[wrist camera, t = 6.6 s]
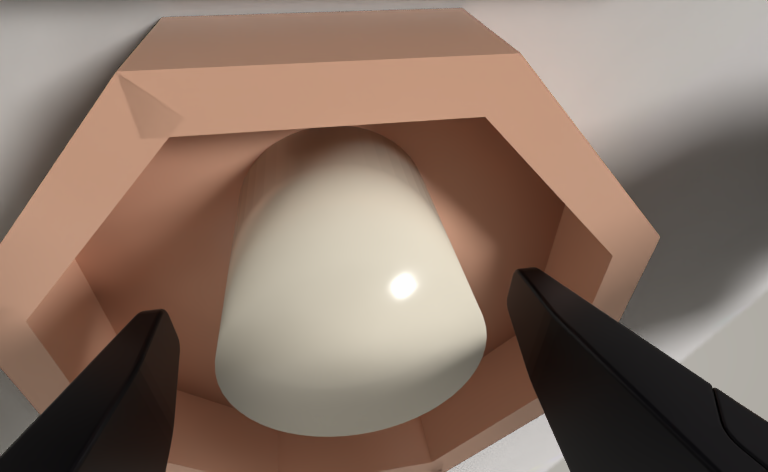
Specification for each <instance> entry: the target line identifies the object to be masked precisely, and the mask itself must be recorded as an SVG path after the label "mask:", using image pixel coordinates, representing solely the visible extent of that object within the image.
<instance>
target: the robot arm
mask: <svg viewBox="0 0 768 472" xmlns="http://www.w3.org/2000/svg"><path fill="white" fill-rule="evenodd" d="M507 309H508V312H509V315H510V319H511V322H512V325H513V328H514V331H515V335H516V338H517V341H518V344H519V347H520V351H521V354H522V357H523V360H524V363H525V366H526V369H527V372H528V375H529V378H530V381H531V383H532V386H533V388H534V391H535V393H536V395H537V397H538V400H539V402H540V404H541V406H542V409H543V411H544V413H545V415H546V418H547V420H548V422H549V425H550V427H551V429H552V431H553V434H554V436H555V438H556V440H557V443H558V445H559V447H560V449H561V452H562V454H563V456H564V458H565V461H566V463H567V465H568V467H569V470H570V472H768V422H767V421H766V420H764V419H763V418H761V417H760V416H758V415H756V414H755V413H753V412H752V411H750V410H749V409H747V408H746V407H744V406H743V405H741V404H740V403H738V402H736V401H735V400H734V399H732V398H731V397H729V396H728V395H726V394H725V393H723V392H722V391H720V390H719V389H717V388H712V386H711V384H710V383H708V382H706V381H705V380H704V379H702V378H701V377H699V376H698V375H696V374H695V373H693V372H691V371H690V370H689V369H687V368H686V367H684V366H683V365H681V364H680V363H678V362H677V361H675V360H674V359H672V358H671V357H669V356H668V355H666V354H665V353H664V352H662V351H661V350H659V349H658V348H656V347H655V346H653V345H652V344H650V343H649V342H647V341H646V340H644V339H643V338H641V337H640V336H638V335H637V334H635V333H634V332H632V331H631V330H629V329H628V328H626V327H625V326H623V325H622V324H620V323H619V322H617V321H616V320H614V319H613V318H612V317H610V316H609V315H607V314H606V313H604V312H603V311H601V310H600V309H598V308H597V307H595V306H594V305H592V304H591V303H589V302H588V301H586V300H585V299H583V298H582V297H580V296H579V295H577V294H576V293H574V292H573V291H571V290H570V289H568V288H567V287H565V286H564V285H563V284H561V283H560V282H558V281H557V280H555V279H554V278H552V277H551V276H549V275H548V274H546V273H545V272H543V271H542V270H540V269H538V268H536V267H529V268H520V269H517V270H515V271H514V273H513V276H512V280H511V284H510V288H509V292H508V296H507ZM179 358H180V342H179V338H178V335H177V333H176V331H175V328H174V326H173V324H172V321H171V319H170V316H169V314H168V313H167V311H166V310H164V309H154V310H145V311H141V312H139V313H137V314H136V315H135V316H134V317H133V318H132V319H131V320H130V322H129V323H128V324H127V325H126V326H125V327H124V328H123V329H122V330H121V331H120V332H119V333H118V334H117V335H116V336H115V337H114V338H113V339H112V340H111V341H110V342H109V343H108V345H107V346H106V347H105V348H104V349H103V350H102V351H101V352H100V353H99V354H98V355H97V356H96V357H95V358H94V359H93V360H92V361H91V362H90V363H89V364H88V365H87V367H86V368H85V369H84V370H83V371H82V372H81V373H80V374H79V375H78V376H77V377H76V378H75V379H74V380H73V381H72V382H71V383H70V384H69V385H68V386H67V387H66V389H65V390H64V391H63V392H62V393H61V394H60V395H59V396H58V397H57V398H56V399H55V400H54V401H53V402H52V403H51V404H50V405H49V406H48V407H47V408H46V409H45V410H44V412H43V413H42V414H41V415H40V416H39V417H38V418H37V419H36V420H35V421H34V422H33V423H32V424H31V425H30V426H29V427H28V428H27V429H26V430H25V431H24V432H23V434H22V435H21V436H20V437H19V438H18V439H17V440H16V441H15V442H14V443H13V444H12V445H11V446H10V447H9V448H8V449H7V450H6V451H5V452H4V453H3V454H2V456H1V457H0V472H166V467H167V462H168V457H169V452H170V447H171V442H172V436H173V429H174V420H175V408H176V395H177V383H178V370H179Z"/></svg>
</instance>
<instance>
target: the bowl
mask: <svg viewBox="0 0 768 472" xmlns="http://www.w3.org/2000/svg"><path fill="white" fill-rule="evenodd" d="M335 126H354V127H359V128H363V129H367V130H370V131H373V132H376V133H378V134H381V135H383V136H384V137H386V138H388V139H390V140H392V141H393V142H394V143H396V144H397V145H398V146H400V147H401V148H402V149H403V150H404V151H405V152H406V153H407V154H408V155H409V156H410V158H411V159H412V160H413V162H414V163H415V164H416V166H417V168H418V170H419V172H420V174H421V176H422V179H423V181H424V183H425V185H426V188H427V190H428V192H429V195H430V197H431V199H432V201H433V204H434V206H435V208H436V210H437V213H438V215H439V217H440V220H441V222H442V224H443V226H444V229H445V231H446V233H447V235H448V238H449V240H450V242H451V245H452V247H453V249H454V251H455V254H456V256H457V258H458V260H459V263H460V265H461V267H462V270H463V272H464V274H465V276H466V279H467V281H468V283H469V285H470V288H471V290H472V292H473V295H474V297H475V299H476V301H477V304H478V306H479V308H480V310H481V313H482V315H483V318H484V321H485V325H486V334H487V339H486V347H485V351H484V354H483V357H482V359H481V361H480V363H479V365H478V367H477V369H476V370H475V372H474V373H473V375H472V376H471V377H470V379H469V380H468V381H467V382H466V383H465V384H464V385H463V387H462V388H461V389H459V390H458V391H457V392H456V393H455V394H454V395H453V396H451V397H450V398H449V399H447V400H446V401H445V402H443V403H442V404H440V405H439V406H437V407H435V408H434V409H432V410H430V411H429V412H427V413H425V414H423V415H421V416H419V417H417V418H414V419H412V420H410V421H407V422H405V423H402V424H399V425H396V426H393V427H390V428H386V429H382V430H379V431H375V432H369V433H364V434H358V435H350V436H336V437H317V436H305V435H298V434H292V433H287V432H283V431H279V430H275V429H272V428H270V427H267V426H264V425H262V424H259V423H257V422H255V421H253V420H252V419H250V418H248V417H247V416H245V415H244V414H242V413H241V412H239V411H238V410H237V409H236V408H235V407H234V406H233V405H232V404H230V402H229V401H228V400H227V399H226V397H225V396H224V395H223V393H222V391H221V389H220V387H219V385H218V382H217V378H216V374H215V357H216V350H217V343H218V336H219V330H220V323H221V316H222V309H223V303H224V296H225V289H226V282H227V276H228V269H229V262H230V255H231V249H232V242H233V235H234V229H235V222H236V215H237V208H238V202H239V196H240V190H241V187H242V184H243V181H244V178H245V176H246V175H247V173H248V171H249V169H250V167H251V166H252V165H253V164H254V162H255V161H256V160H257V158H258V157H259V156H260V155H261V154H262V153H264V152H265V151H266V150H267V149H268V148H269V147H271V146H272V145H273V144H275V143H276V142H278V141H279V140H281V139H283V138H285V137H287V136H289V135H291V134H294V133H296V132H299V131H301V130H305V129H309V128H319V127H335ZM659 239H660V236H659V235H658V233H657V232H656V231H655V229H654V228H653V227H652V225H651V224H650V223H649V221H648V220H647V219H646V217H645V216H644V215H643V213H642V212H641V211H640V210H639V208H638V207H637V206H636V204H635V203H634V202H633V200H632V199H631V198H630V196H629V195H628V194H627V192H626V191H625V190H624V188H623V187H622V186H621V185H620V183H619V182H618V181H617V179H616V178H615V177H614V175H613V174H612V173H611V171H610V170H609V169H608V167H607V166H606V165H605V163H604V162H603V161H602V160H601V158H600V157H599V156H598V154H597V153H596V152H595V150H594V149H593V148H592V146H591V145H590V144H589V142H588V141H587V140H586V139H585V137H584V136H583V135H582V133H581V132H580V131H579V129H578V128H577V127H576V125H575V124H574V123H573V121H572V120H571V119H570V117H569V116H568V115H567V114H566V112H565V111H564V110H563V108H562V107H561V106H560V104H559V103H558V102H557V100H556V99H555V98H554V96H553V95H552V94H551V92H550V91H549V90H548V89H547V87H546V86H545V85H544V83H543V82H542V81H541V79H540V78H539V77H538V75H537V74H536V73H535V71H534V70H533V69H532V68H531V66H530V65H529V64H528V62H527V61H526V60H525V58H524V57H523V56H522V54H521V53H520V52H518V51H517V50H516V49H515V48H513V47H512V46H511V45H509V44H508V43H507V42H506V41H504V40H503V39H502V38H500V37H499V36H498V35H496V34H495V33H494V32H493V31H491V30H490V29H489V28H487V27H486V26H485V25H484V24H482V23H481V22H480V21H478V20H477V19H476V18H475V17H473V16H472V15H471V14H469V13H468V12H467V11H465V10H464V9H463V8H445V9H412V10H380V11H347V12H314V13H282V14H249V15H216V16H183V17H162V18H161V19H160V20H159V21H158V23H157V24H156V25H155V26H154V27H153V29H152V30H151V31H150V32H149V33H148V34H147V36H146V37H145V38H144V39H143V40H142V42H141V43H140V44H139V45H138V46H137V47H136V49H135V50H134V51H133V52H132V53H131V55H130V56H129V57H128V58H127V59H126V60H125V62H124V63H123V64H122V65H121V66H120V68H119V69H118V70H117V71H116V73H115V74H114V75H113V77H112V78H111V80H110V81H109V83H108V84H107V86H106V87H105V89H104V90H103V92H102V93H101V95H100V96H99V98H98V99H97V101H96V102H95V104H94V105H93V107H92V108H91V110H90V111H89V113H88V114H87V116H86V117H85V119H84V120H83V122H82V123H81V125H80V126H79V128H78V129H77V130H76V132H75V133H74V135H73V136H72V138H71V139H70V141H69V142H68V144H67V145H66V147H65V148H64V150H63V151H62V153H61V154H60V156H59V157H58V159H57V160H56V162H55V163H54V165H53V166H52V168H51V169H50V171H49V172H48V174H47V175H46V177H45V178H44V180H43V181H42V183H41V184H40V185H39V187H38V188H37V190H36V191H35V193H34V194H33V196H32V197H31V199H30V200H29V202H28V203H27V205H26V206H25V208H24V209H23V211H22V212H21V214H20V215H19V217H18V218H17V220H16V221H15V223H14V224H13V226H12V227H11V229H10V230H9V232H8V233H7V235H6V236H5V238H4V239H3V241H2V242H1V243H0V368H1V369H2V370H3V371H4V372H5V374H6V375H7V376H8V377H9V378H10V380H11V381H12V382H13V383H14V384H15V385H16V387H17V388H18V389H19V390H20V391H21V392H22V394H23V395H24V396H25V397H26V398H27V400H28V401H29V402H30V403H31V404H32V405H33V407H34V408H35V409H36V410H37V411H38V413H39V414H40V415H41V414H42V413H43V412H44V410H45V409H46V408H47V407H48V406H49V405H50V404H51V403H52V402H53V401H54V400H55V399H56V398H57V397H58V396H59V395H60V394H61V393H62V392H63V391H64V390H65V389H66V387H67V386H68V385H69V384H70V383H71V382H72V381H73V380H74V379H75V378H76V377H77V376H78V375H79V374H80V373H81V372H82V371H83V370H84V369H85V368H86V367H87V365H88V364H89V363H90V362H91V361H92V360H93V359H94V358H95V357H96V356H97V355H98V354H99V353H100V352H101V351H102V350H103V349H104V348H105V347H106V346H107V345H108V343H109V342H110V341H111V340H112V339H113V338H114V337H115V336H116V335H117V334H118V333H119V332H120V331H121V330H122V329H123V328H124V327H125V326H126V325H127V324H128V323H129V322H130V320H131V319H132V318H133V317H134V316H135V315H136V314H137V313H139V312H141V311H145V310H154V309H164V310H166V311H167V313H168V314H169V316H170V319H171V321H172V324H173V326H174V328H175V331H176V333H177V335H178V338H179V342H180V358H179V370H178V383H177V395H176V408H175V420H174V429H173V436H172V442H171V447H170V452H169V457H168V462H167V467H166V472H446V471H448V470H449V469H451V468H453V467H454V466H456V465H458V464H460V463H461V462H463V461H465V460H466V459H468V458H470V457H471V456H473V455H475V454H476V453H478V452H480V451H481V450H483V449H485V448H487V447H488V446H490V445H492V444H493V443H495V442H497V441H498V440H500V439H502V438H503V437H505V436H507V435H508V434H510V433H512V432H514V431H515V430H517V429H519V428H520V427H522V426H524V425H525V424H527V423H529V422H530V421H532V420H534V419H535V418H537V417H539V416H540V415H542V414H544V411H543V409H542V406H541V404H540V402H539V400H538V397H537V395H536V393H535V391H534V388H533V386H532V383H531V381H530V378H529V375H528V372H527V369H526V366H525V363H524V360H523V357H522V354H521V351H520V347H519V344H518V341H517V338H516V335H515V331H514V328H513V325H512V322H511V319H510V315H509V312H508V309H507V296H508V292H509V288H510V284H511V280H512V276H513V273H514V271H515V270H517V269H520V268H529V267H536V268H538V269H540V270H542V271H543V272H545V273H546V274H548V275H549V276H551V277H552V278H554V279H555V280H557V281H558V282H560V283H561V284H563V285H564V286H565V287H567V288H568V289H570V290H571V291H573V292H574V293H576V294H577V295H579V296H580V297H582V298H583V299H585V300H586V301H588V302H589V303H591V304H592V305H594V306H595V307H597V308H598V309H600V310H601V311H603V312H604V313H606V314H607V315H609V316H610V317H612V318H613V319H614V320H616V321H617V322H619V320H620V318H621V316H622V314H623V312H624V310H625V308H626V306H627V304H628V302H629V300H630V298H631V296H632V294H633V292H634V290H635V288H636V286H637V284H638V282H639V280H640V278H641V276H642V274H643V272H644V270H645V268H646V266H647V264H648V261H649V259H650V257H651V255H652V253H653V251H654V249H655V247H656V245H657V243H658V241H659Z"/></svg>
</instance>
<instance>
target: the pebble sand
mask: <svg viewBox="0 0 768 472" xmlns="http://www.w3.org/2000/svg"><path fill="white" fill-rule="evenodd" d="M486 339H487V334H486V325H485V321H484V318H483V315H482V313H481V310H480V308H479V306H478V304H477V301H476V299H475V297H474V295H473V292H472V290H471V288H470V285H469V283H468V281H467V279H466V276H465V274H464V272H463V270H462V267H461V265H460V263H459V260H458V258H457V256H456V254H455V251H454V249H453V247H452V245H451V242H450V240H449V238H448V235H447V233H446V231H445V229H444V226H443V224H442V222H441V220H440V217H439V215H438V213H437V210H436V208H435V206H434V204H433V201H432V199H431V197H430V195H429V192H428V190H427V188H426V185H425V183H424V181H423V179H422V176H421V174H420V172H419V170H418V168H417V166H416V164H415V163H414V162H413V160H412V159H411V158H410V156H409V155H408V154H407V153H406V152H405V151H404V150H403V149H402V148H401V147H400V146H398V145H397V144H396V143H394V142H393V141H392V140H390V139H388V138H386V137H384V136H383V135H381V134H378V133H376V132H373V131H370V130H367V129H363V128H359V127H354V126H335V127H319V128H309V129H305V130H301V131H299V132H296V133H294V134H291V135H289V136H287V137H285V138H283V139H281V140H279V141H278V142H276V143H275V144H273V145H272V146H271V147H269V148H268V149H267V150H266V151H265V152H264V153H262V154H261V155H260V156H259V157H258V158H257V160H256V161H255V162H254V164H253V165H252V166H251V167H250V169H249V171H248V173H247V175H246V176H245V178H244V181H243V184H242V187H241V190H240V196H239V202H238V208H237V215H236V222H235V229H234V235H233V242H232V249H231V255H230V262H229V269H228V276H227V282H226V289H225V296H224V303H223V309H222V316H221V323H220V330H219V336H218V343H217V350H216V357H215V374H216V378H217V382H218V385H219V387H220V389H221V391H222V393H223V395H224V396H225V397H226V399H227V400H228V401H229V402H230V404H232V405H233V406H234V407H235V408H236V409H237V410H238V411H239V412H241V413H242V414H244V415H245V416H247V417H248V418H250V419H252V420H253V421H255V422H257V423H259V424H262V425H264V426H267V427H270V428H272V429H275V430H279V431H283V432H287V433H292V434H298V435H305V436H317V437H336V436H350V435H358V434H364V433H369V432H375V431H379V430H382V429H386V428H390V427H393V426H396V425H399V424H402V423H405V422H407V421H410V420H412V419H414V418H417V417H419V416H421V415H423V414H425V413H427V412H429V411H430V410H432V409H434V408H435V407H437V406H439V405H440V404H442V403H443V402H445V401H446V400H447V399H449V398H450V397H451V396H453V395H454V394H455V393H456V392H457V391H458V390H459V389H461V388H462V387H463V385H464V384H465V383H466V382H467V381H468V380H469V379H470V377H471V376H472V375H473V373H474V372H475V370H476V369H477V367H478V365H479V363H480V361H481V359H482V357H483V354H484V351H485V347H486Z"/></svg>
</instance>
